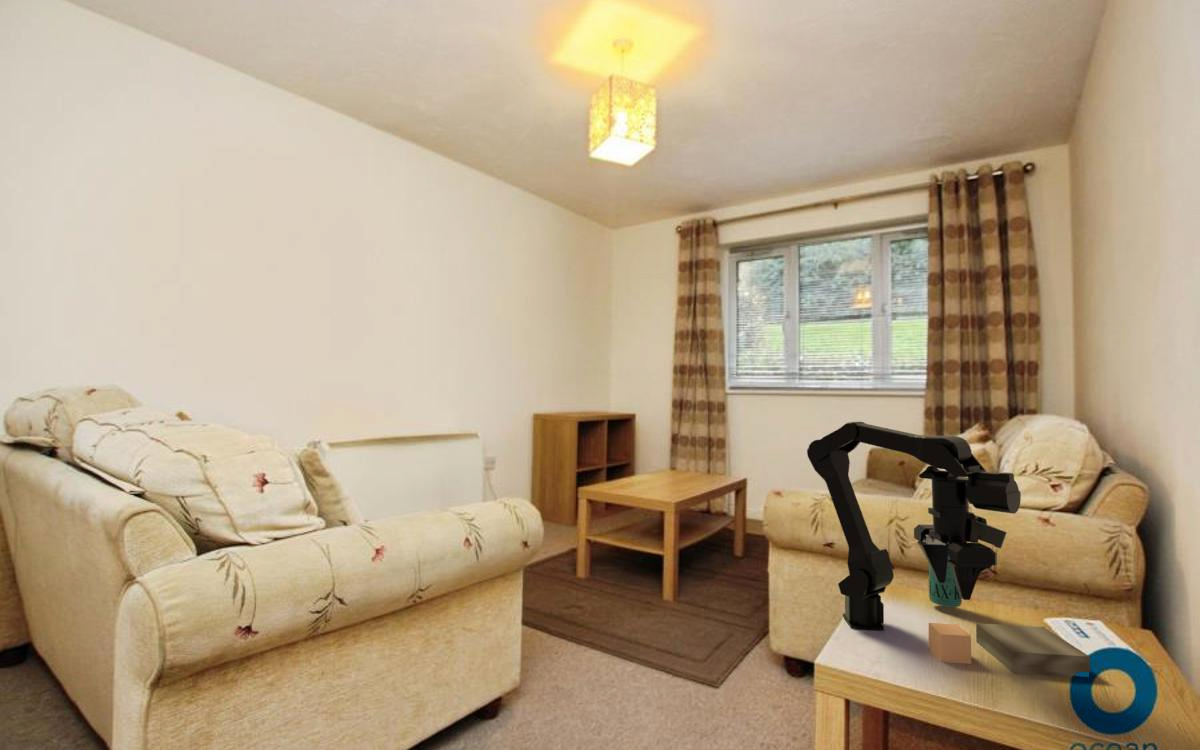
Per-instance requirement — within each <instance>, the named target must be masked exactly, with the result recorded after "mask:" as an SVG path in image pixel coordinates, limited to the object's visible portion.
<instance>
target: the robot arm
mask: <svg viewBox="0 0 1200 750" xmlns="http://www.w3.org/2000/svg"><path fill="white" fill-rule="evenodd" d="M861 443H862V444H865V445H866V444H867V445H871V446H875V447H879V448H883V449H886V450H891V451H895V452H899V453H903V454H907V455H910V456H912V457H913V458H915V459H917V460H918V461H920V462H922V463H924V464H926V465H927V467H926V469H925V470H923V471H922V472H921V473H919V474H918V477H919V478H920V479H926V480H931V501H932V502H931V504H932V507H928V508H927V509H928V510H927V511H928V512H927V513H928V514H930V515H932V524H917V525H916V526H915V527H914V528H913V539H915V540H916V543H917V545H919V547H920V550H921V551H922V553H923V555H924V556H925V558H926V560H927V564H928V565H929V564H930V566H931V568H932V570H933V572H934V574H935V576H936V578H937V580H938V582H939V583H945V580H946V573H947V562H949V565H950V568H951V570H952V573H953V576H954V578H955V581H956V584H957V586H958V589H959V592H960V594H961V597H962V600H964V601H970V600H971V598H972V595H973V592H974V589H975V587H976V583H977V581H978V578H979V576H980V574H981V573H982V572H983V571H985V570H986V569H991V568H992V567H993V566H998V560H997V559H998V557H997V552H995V550H993V549H992V548H991V547H990V546H987V545H986V544H983V543H981V542H985V543H987V544H989V545H993V547H995V548H998V549H1002V547H1003V544H1004V541H1005V539H1006V535H1007V531H1005V530H1002V529H999V528H997V527H994V526H992V525H988V523H987V519H986V518H984V517H981V516H979V515H976V514H975V513H974V512H972V511H970V509H969V507H970V506H969V505H972V506H973V507H974V508H975V509H977V510H984V511H991V512H998V513H1005V514H1006V513H1007V514H1013V515H1015V514H1017V512H1018V511H1019V508H1020V505H1021V500H1022V499H1021V498H1022V495H1021V494H1022V493H1021V491H1020V490H1019V486H1018V483H1017V481H1016V480H1015V474H1014V473H1013V472H1007V471H1006V472H994V471H993V472H992V471H987V470H986V469H985V468H984V466H983V465H982V464H981V463H980V461H979V460H978V459H977V458H976V457H975V455H974V454H973V453H972V448H971V446H970V444H969V443H968V442H967V440H966V439H965V438H963V437H961V436H957V435H956V436H955V435H954V436H953V435H930V434H929V435H926V434H924V435H922V434H915V433H911V432H906V431H901V430H898V429H897V430H896V429H892V428H887V427H882V426H877V425H873V424H868V423H867V422H866V423H865V422H863V421H849V422H846V423H845V424H843V425H842V426H841V427H839V428H838V429H836V430H834V431H832V432H831V433H829V434H826V435H825V436H823V437H822V438H820V439H814V440H813V441H811V442H810V443H809V444H808V448H807V449H806V455H807V458H808V460H809V462H810V464H811V465H812V468H813V469H814V471H815V472H816V473H817V474H818V475H819V476H820V477H821V478H822V480H823V481H824V483H825V484H826V486H827V487H826V488H827V490H828V493H829V496H830V498H831V500H832V504H833V507H834V510H835V513H836V516H837V518H838V521H839V524H840V527H841V529H842V532H843V535H844V538H845V541H846V543H847V547H848V552H847V561H846V563H847V569H848V574H849V575H847V576H846V577H845V578H843V579H842V580H841V581H839V582H838V584H837V585H838V589H839V591H840V594H841V595H842V596H844V613H842V617H843V619H844V620H845V621H846V623H847V624H848V625H849V627H850V628H851V629H863V630H879V631H883V630H885V626H884V625H883V624H884V623H885V618H884V612H885V611H884V610H885V609H884V607H885V604H884V603H883V602H882V597H881V595H880V594H883V593H885V591H886V589H887V587H888V586H889V585H891V584H892V581H893V579H894V575H895V574H894V570H895V569H896V567H895V566H894V565H893V564H892V562H891V559H890V555H889V552H888V550H887V549H886V548H884V549H880V548H879V547H878V546H877V545H876V543H874V542H873V539H872V537H871V534H870V532H869V529H868V526H867V523H866V520H865V518H864V514H863V512H862V509H861V507H860V504H859V501H858V498H857V496H856V493H855V490H854V487H853V485H852V482H851V480H850V476H849V472H850V463H851V462H850V457H849V454H850V453H851V452H852V451H854V450H855V449H856V448H857V447H858V446H859V445H860V444H861ZM979 541H981V542H979ZM948 555H949V557H950V559H951V560H948Z"/></svg>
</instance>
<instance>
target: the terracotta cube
mask: <svg viewBox="0 0 1200 750" xmlns="http://www.w3.org/2000/svg"><path fill="white" fill-rule="evenodd" d="M928 650H929V651H930V652H931V653H932V655H934V656H935V657H936V659H938V660H939V661H940V662H941V663H950V664H951V663H953V664H954V663H955V664H969V665H971V664H972V636H971V634H970V633H968V632H967V631H966V630H964V629H963V628H962V627H961V626H960V625H958V624H956V623H955V624H954V623H941V622H940V623H938V622H928Z"/></svg>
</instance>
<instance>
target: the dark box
mask: <svg viewBox="0 0 1200 750" xmlns="http://www.w3.org/2000/svg"><path fill="white" fill-rule="evenodd" d="M975 630H976V631H975V633H976V634H975V635H976V640H975V642H976V643H977V644H978V645H979V646H980V647H982V649H984V650H985V651H986V652H988V653H989V654H990V655H991V656H992V657H993V658H994V659H996V660H997V661H999V663H1001V664H1002V665H1003V666H1004V667H1006V668H1007V669H1008V670H1009V671H1010V672H1011V673H1013V674H1021V675H1022V674H1023V675H1035V676H1037V675H1039V676H1053V677H1054V676H1055V677H1068V676H1069V678H1073V677H1072V676H1074V675H1075V674H1076V673H1077V672H1090V673H1091V656H1090V655H1089V654H1087V653H1085V652H1083V651H1082V650H1080V649H1079V648H1077V647H1075V646H1074V645H1073V644H1072V643H1070V642H1068V641H1067V640H1065V639H1063V638H1062V637H1060V636H1059V635H1057V634H1056V633H1053V632H1052V631H1051V630H1049V629H1048V628H1047V627H1046V626H1045V627H1044V626H1032V625H1014V624H993V623H979V622H977V623H975Z"/></svg>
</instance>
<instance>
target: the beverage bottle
mask: <svg viewBox="0 0 1200 750" xmlns="http://www.w3.org/2000/svg"><path fill="white" fill-rule="evenodd" d="M948 560H951V559H950V557H949V555H948ZM927 572H928V585H927V586H928V598H929V602H932V604H935V605H939V606H941V607H948V608H949V607H950V608H957V607H960V606H961V605H962V603H963V602H962V601H963V599H962V597H961V594H960V592H959V589H958V586H957V584H956V581H955V578H954V576H953V573H952V570H951V568H950V565H949V562H947V573H946V580H945V583H939V582H938V580H937V578H936V576H935V574H934V572H933V570H932V568H931V566H930V564H929V563H928V571H927Z"/></svg>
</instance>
